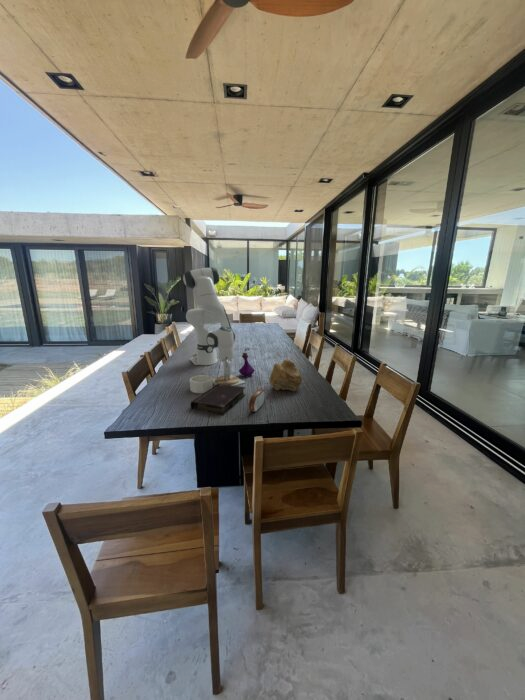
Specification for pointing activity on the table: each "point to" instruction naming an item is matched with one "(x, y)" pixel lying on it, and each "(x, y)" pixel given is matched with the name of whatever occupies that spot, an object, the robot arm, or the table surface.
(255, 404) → the tin
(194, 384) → the bowl
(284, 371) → the rough brown rock
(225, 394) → the diary
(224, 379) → the lid
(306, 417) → the table surface
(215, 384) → the trivet
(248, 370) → the perfume bottle
